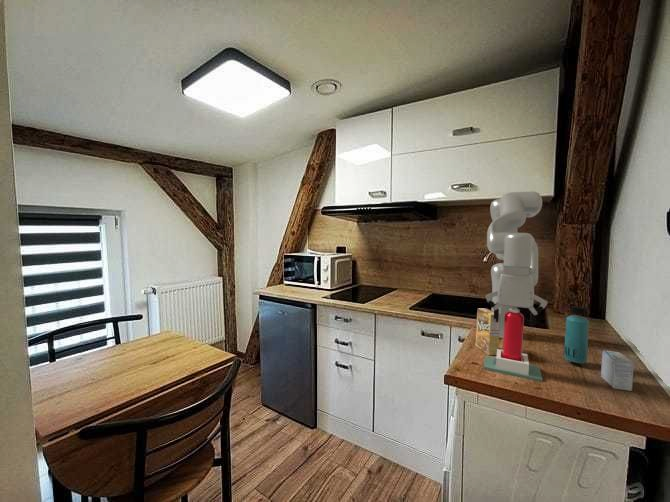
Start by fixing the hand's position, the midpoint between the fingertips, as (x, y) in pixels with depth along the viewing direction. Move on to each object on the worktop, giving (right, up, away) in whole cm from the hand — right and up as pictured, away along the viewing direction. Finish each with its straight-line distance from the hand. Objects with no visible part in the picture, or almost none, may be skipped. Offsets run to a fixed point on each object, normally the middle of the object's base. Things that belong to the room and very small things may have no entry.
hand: (513, 323), depth 98 cm
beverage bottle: (+24, -15, +5) cm, 29 cm away
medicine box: (+26, -16, -8) cm, 32 cm away
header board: (0, -15, +1) cm, 15 cm away
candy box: (-1, -15, +16) cm, 22 cm away
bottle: (0, -15, +1) cm, 15 cm away
